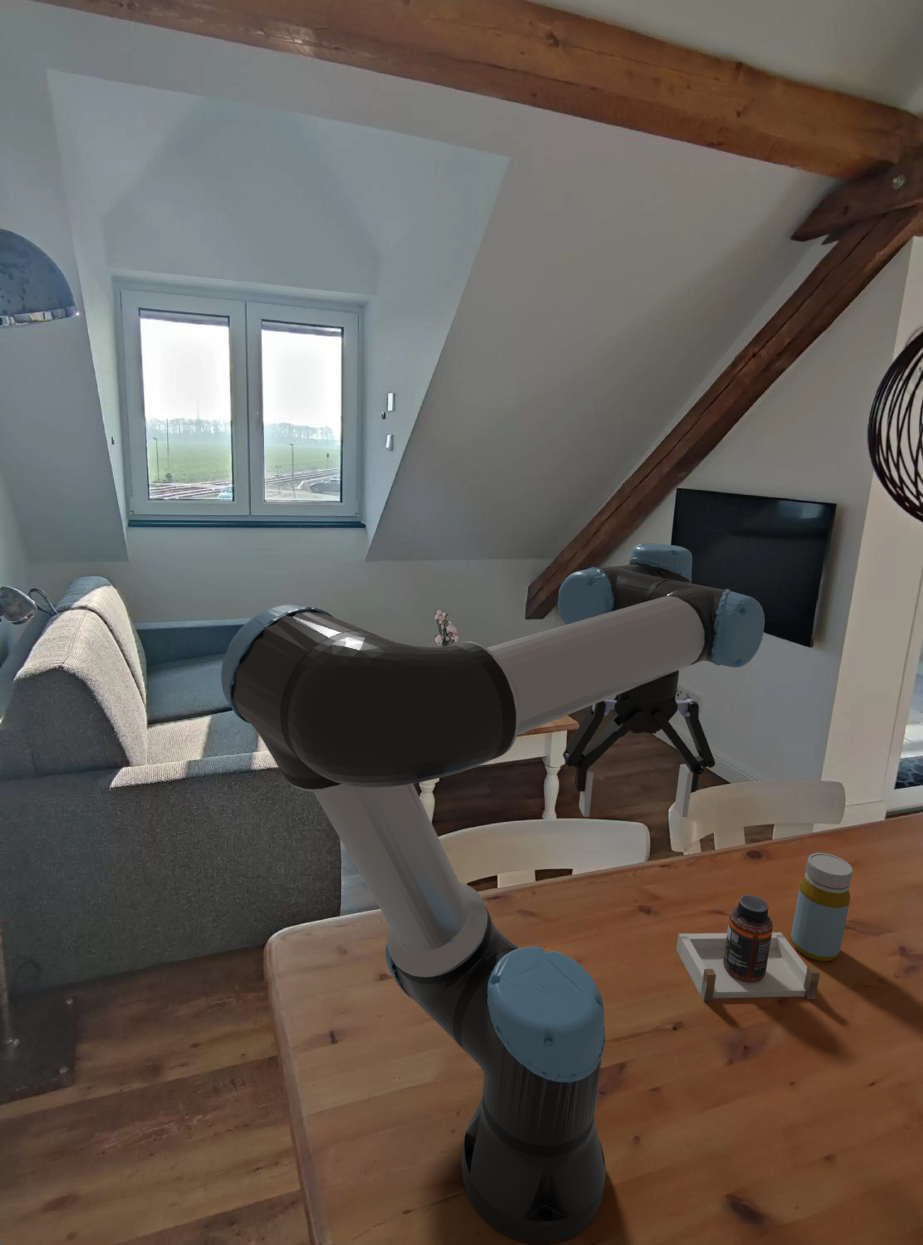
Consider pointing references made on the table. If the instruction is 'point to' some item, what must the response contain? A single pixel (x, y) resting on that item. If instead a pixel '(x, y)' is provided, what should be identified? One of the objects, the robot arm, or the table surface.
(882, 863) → the table surface
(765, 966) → the supplement bottle
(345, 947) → the table surface
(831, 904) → the bottle
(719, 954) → the bay
